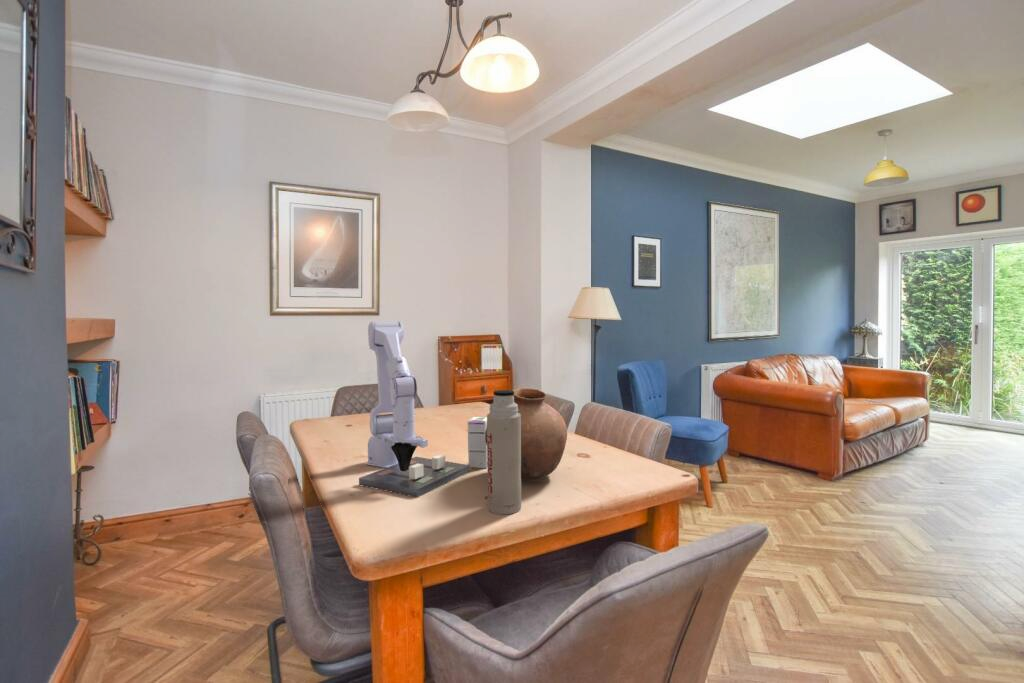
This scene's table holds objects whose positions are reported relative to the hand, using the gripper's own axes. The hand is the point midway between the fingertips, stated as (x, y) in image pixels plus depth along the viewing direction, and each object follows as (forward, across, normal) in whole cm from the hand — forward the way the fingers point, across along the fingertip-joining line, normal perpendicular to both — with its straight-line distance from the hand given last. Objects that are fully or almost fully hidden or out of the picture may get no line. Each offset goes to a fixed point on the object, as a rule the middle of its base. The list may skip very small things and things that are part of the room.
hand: (404, 470), depth 139 cm
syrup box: (+4, +9, +24) cm, 26 cm away
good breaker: (+1, +4, +10) cm, 11 cm away
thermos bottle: (+4, +33, -3) cm, 33 cm away
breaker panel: (+4, 0, +5) cm, 6 cm away
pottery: (+4, +27, +20) cm, 34 cm away
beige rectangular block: (+1, +4, 0) cm, 4 cm away
